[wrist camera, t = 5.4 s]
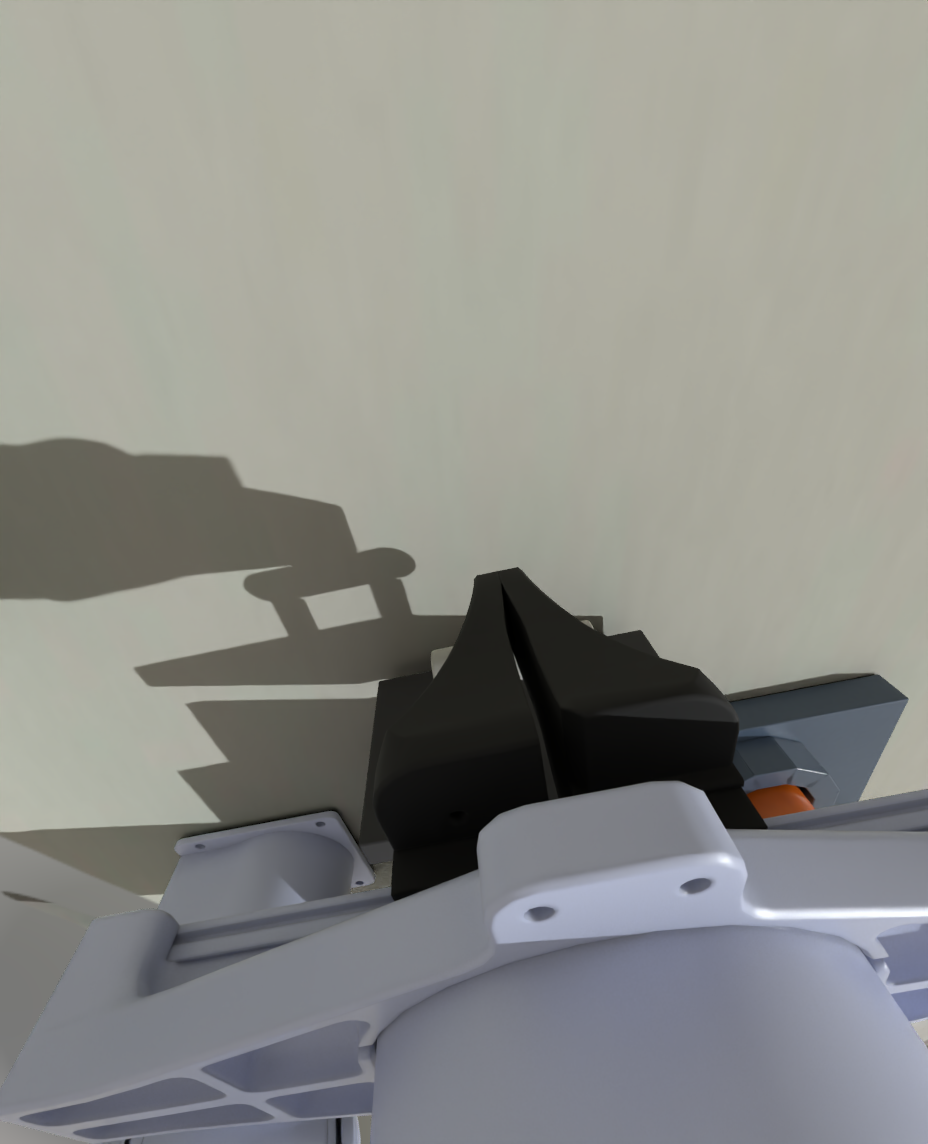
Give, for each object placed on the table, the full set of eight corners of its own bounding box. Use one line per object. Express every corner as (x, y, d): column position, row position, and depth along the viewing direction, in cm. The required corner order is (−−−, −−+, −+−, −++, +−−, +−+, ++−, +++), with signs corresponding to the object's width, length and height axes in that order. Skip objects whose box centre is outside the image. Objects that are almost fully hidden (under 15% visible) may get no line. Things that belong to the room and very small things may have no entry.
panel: (655, 810, 27) (683, 871, 24) (662, 714, 23) (698, 775, 20) (834, 777, 27) (885, 835, 24) (878, 673, 22) (948, 729, 19)
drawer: (347, 604, 17) (305, 762, 11) (643, 544, 16) (765, 674, 10) (444, 842, 26) (449, 997, 20) (636, 807, 25) (698, 955, 20)
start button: (709, 837, 23) (729, 874, 22) (719, 790, 21) (741, 827, 20) (791, 823, 23) (817, 858, 22) (810, 774, 21) (839, 809, 20)
